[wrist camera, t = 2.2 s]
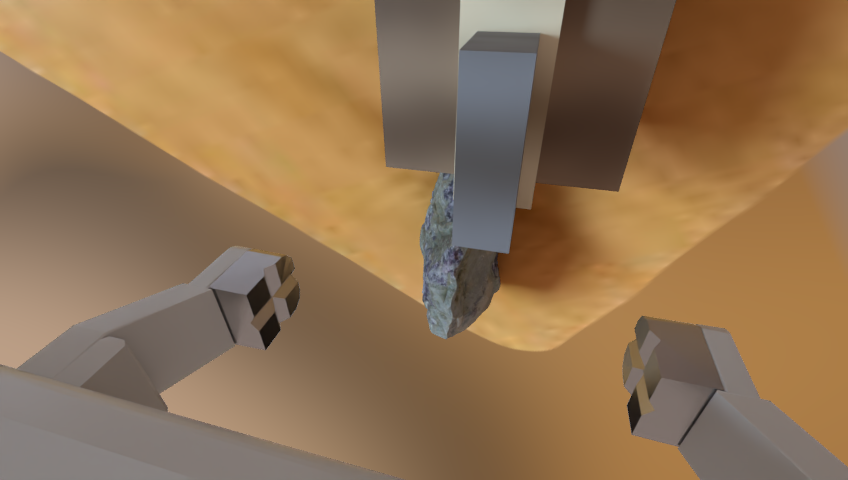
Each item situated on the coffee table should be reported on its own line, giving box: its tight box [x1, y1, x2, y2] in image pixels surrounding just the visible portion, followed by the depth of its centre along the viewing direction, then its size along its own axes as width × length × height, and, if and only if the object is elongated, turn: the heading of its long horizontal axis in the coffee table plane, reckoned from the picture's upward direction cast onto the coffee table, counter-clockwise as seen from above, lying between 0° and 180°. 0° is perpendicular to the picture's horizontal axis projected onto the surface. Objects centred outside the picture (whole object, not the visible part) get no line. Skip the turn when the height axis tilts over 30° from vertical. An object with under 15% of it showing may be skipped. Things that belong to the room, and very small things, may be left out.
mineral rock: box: [420, 173, 501, 339], centre depth 31 cm, size 13×11×10 cm
